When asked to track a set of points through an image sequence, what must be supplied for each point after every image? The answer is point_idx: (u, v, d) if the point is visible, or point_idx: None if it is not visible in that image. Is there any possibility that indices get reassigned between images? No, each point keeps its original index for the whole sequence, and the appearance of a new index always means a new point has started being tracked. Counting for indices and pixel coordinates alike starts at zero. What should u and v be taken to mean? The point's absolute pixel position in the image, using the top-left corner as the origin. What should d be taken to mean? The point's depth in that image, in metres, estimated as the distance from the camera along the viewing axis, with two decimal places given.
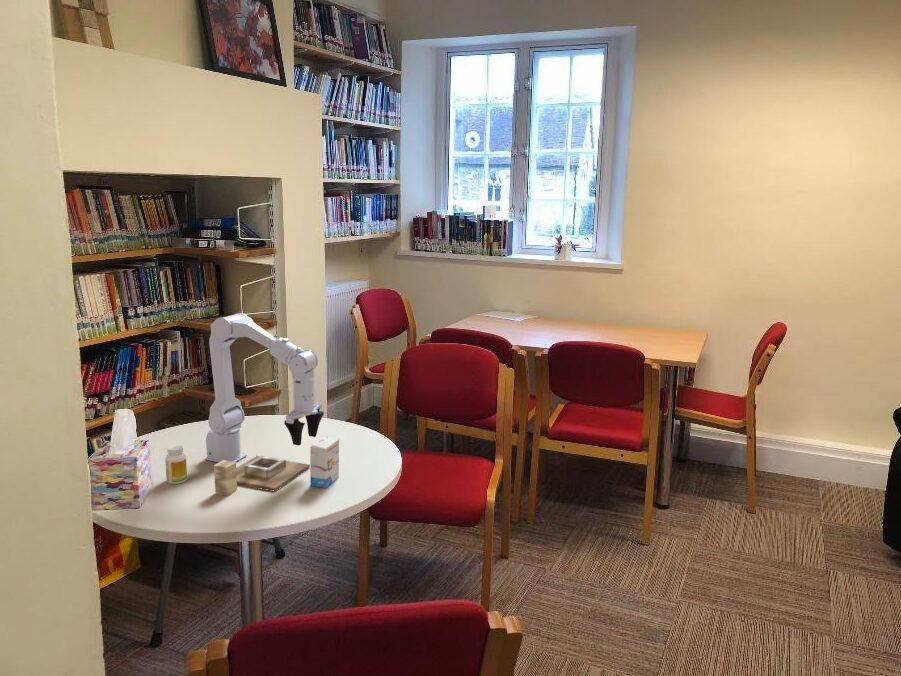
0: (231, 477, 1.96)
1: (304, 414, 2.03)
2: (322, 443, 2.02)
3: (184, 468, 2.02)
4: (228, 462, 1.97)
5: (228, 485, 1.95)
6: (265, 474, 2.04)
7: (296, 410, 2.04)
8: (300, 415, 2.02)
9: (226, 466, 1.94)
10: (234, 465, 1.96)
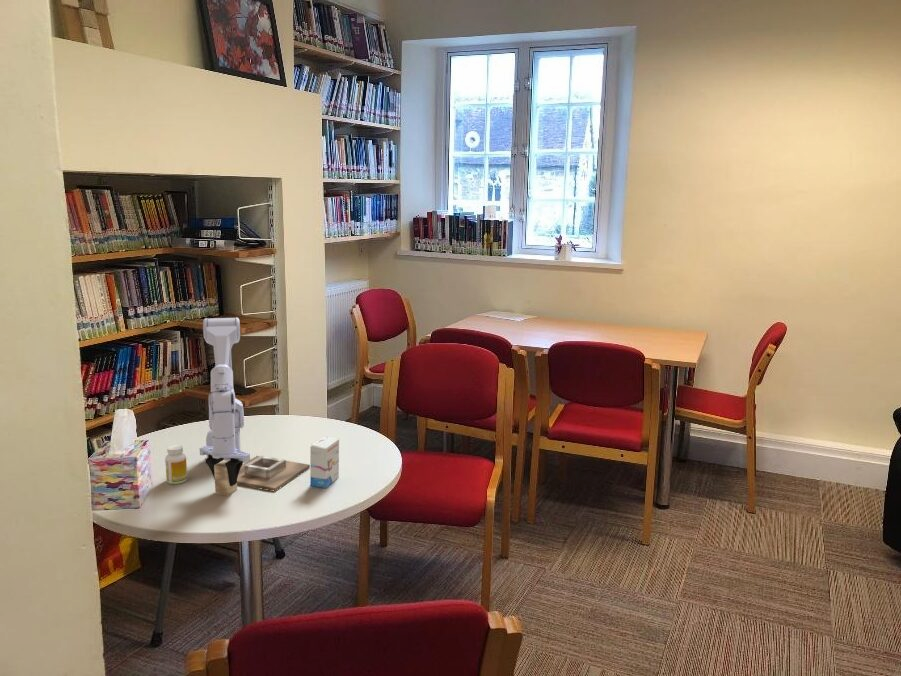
0: None
1: (210, 453, 1.94)
2: (322, 443, 2.02)
3: (184, 468, 2.02)
4: None
5: (228, 485, 1.95)
6: (265, 474, 2.04)
7: None
8: (207, 451, 1.95)
9: None
10: None
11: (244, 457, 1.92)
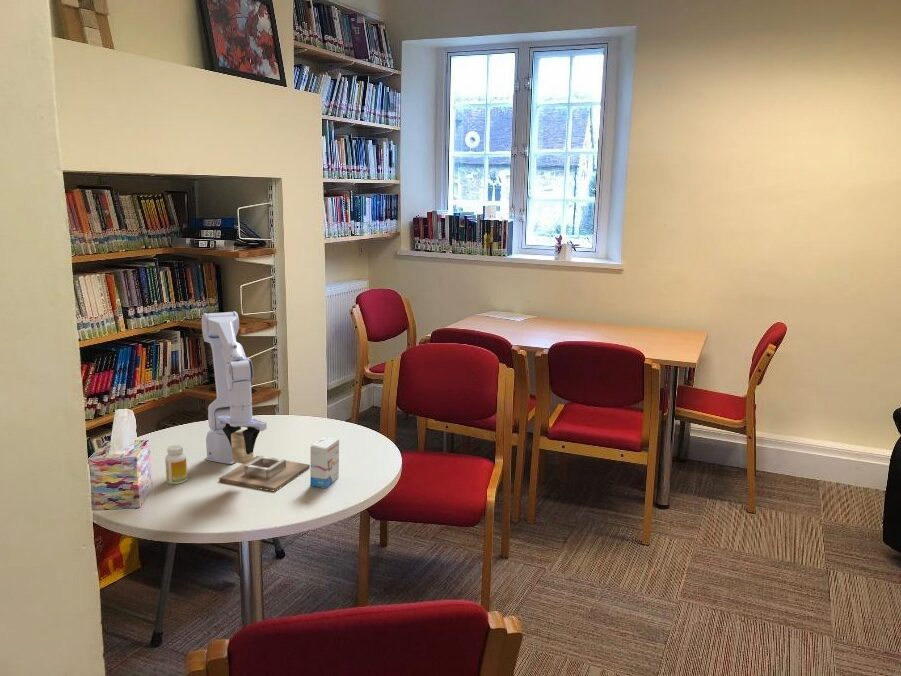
0: None
1: (227, 421, 1.98)
2: (322, 443, 2.02)
3: (184, 468, 2.02)
4: None
5: (245, 453, 1.99)
6: (265, 474, 2.04)
7: None
8: (224, 420, 1.99)
9: (243, 435, 1.98)
10: None
11: (261, 425, 1.96)
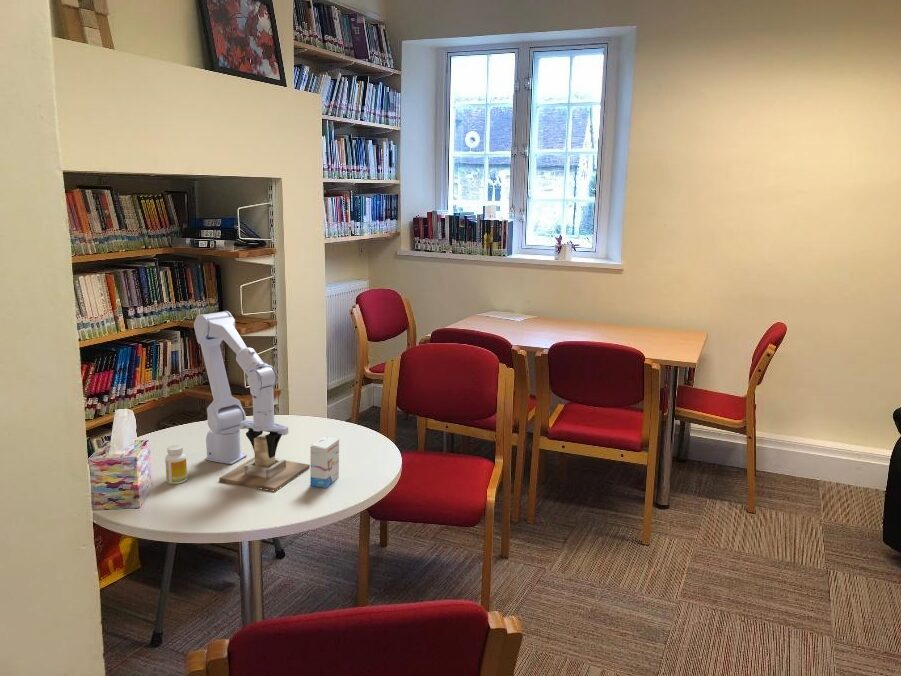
0: None
1: (250, 426, 2.05)
2: (322, 443, 2.02)
3: (184, 468, 2.02)
4: None
5: (267, 457, 2.06)
6: (265, 474, 2.04)
7: None
8: (247, 425, 2.06)
9: (265, 439, 2.05)
10: None
11: (283, 430, 2.03)
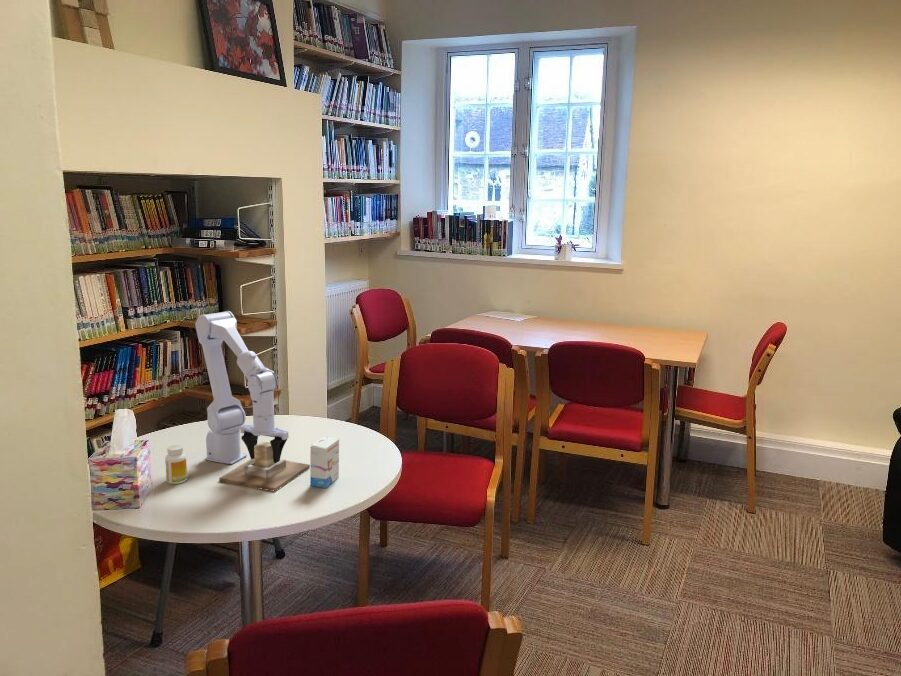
0: (270, 457, 2.07)
1: (250, 430, 2.05)
2: (322, 443, 2.02)
3: (184, 468, 2.02)
4: (267, 443, 2.08)
5: (267, 465, 2.06)
6: (265, 474, 2.04)
7: None
8: (247, 429, 2.06)
9: (265, 447, 2.05)
10: None
11: (283, 434, 2.03)
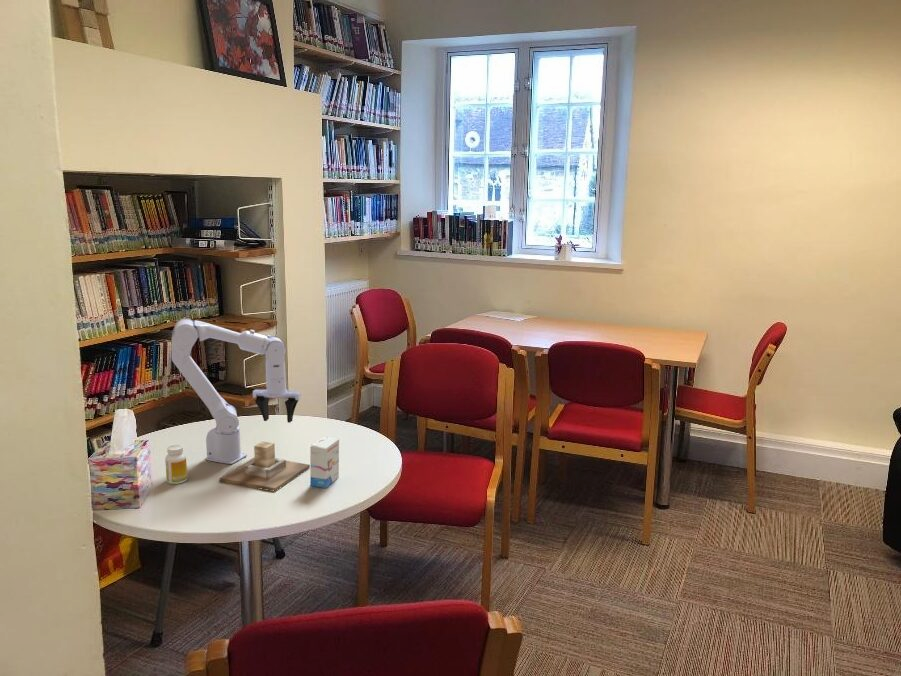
0: (270, 457, 2.07)
1: (264, 394, 2.20)
2: (322, 443, 2.02)
3: (184, 468, 2.02)
4: (267, 443, 2.08)
5: (267, 465, 2.06)
6: (265, 474, 2.04)
7: None
8: (261, 393, 2.20)
9: (265, 447, 2.05)
10: (272, 446, 2.08)
11: (297, 395, 2.19)
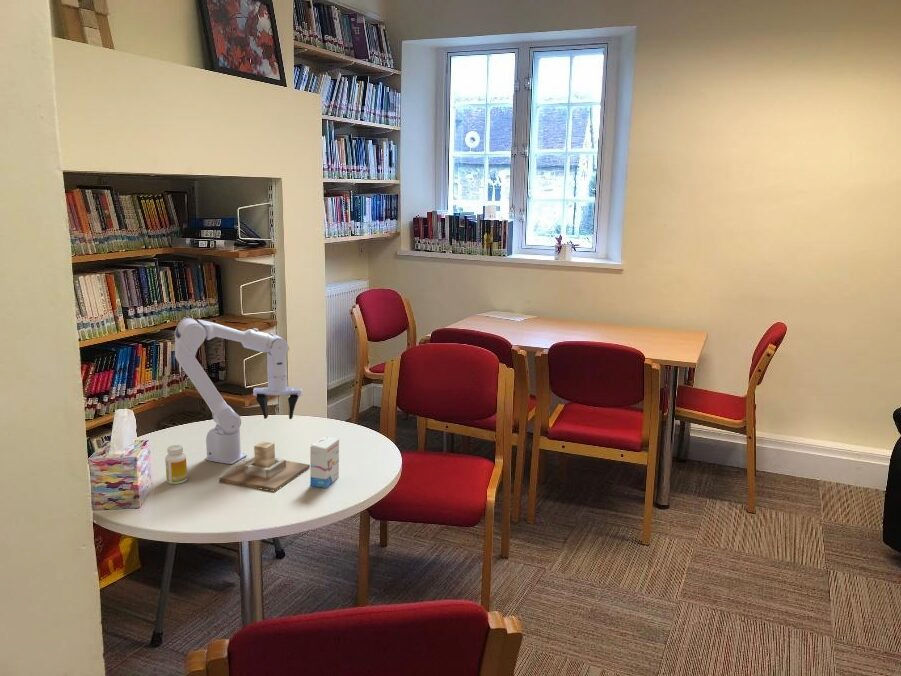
0: (270, 457, 2.07)
1: (266, 391, 2.22)
2: (322, 443, 2.02)
3: (184, 468, 2.02)
4: (267, 443, 2.08)
5: (267, 465, 2.06)
6: (265, 474, 2.04)
7: None
8: (262, 391, 2.22)
9: (265, 447, 2.05)
10: (272, 446, 2.08)
11: (299, 391, 2.23)
